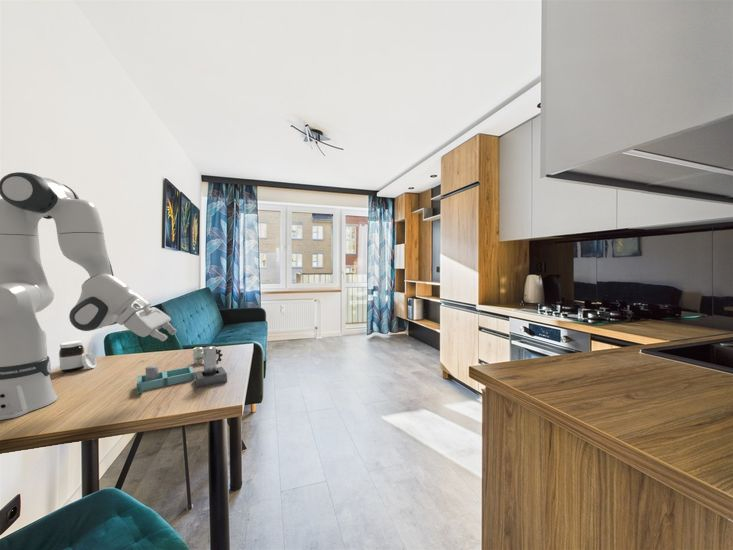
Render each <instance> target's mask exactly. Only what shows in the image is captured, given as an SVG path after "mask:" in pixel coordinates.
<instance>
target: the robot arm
mask: <svg viewBox="0 0 733 550" xmlns="http://www.w3.org/2000/svg"><path fill="white" fill-rule="evenodd" d="M0 197H1V198H0V421H1V420H7V419H14V418H18V417H21V416H23V415H25V414H28V413H30V412H33V411H35V410H36V411H37V410H38V409H42V408H43V407H46V406H48V405H50V404H53V403H54V402H56V401H57V400H58V395H57V393H56V392H55V389H54V387H53V384H52V380H51V372H52V371H51V370H52V367H51V360H50V356H48V349H47V348H48V347H47V334H46V331H45V330H43V329H42V327H41V325H40V323H39V321H38V318H37V316H36V315H37V314H36V313H39V312H42V311H43V310H44V309H46V308H48V307H49V306H50V305H51V304H52V302H53V301H54V298H55V293H54V290H53V289H52V287H51V286H50V285H49V283H48V280H47V276H46V273H45V271H44V268H43V267H44V266H43V264H42V260H41V250H40V239H39V221H40V220H41V219H42V218H43V219H46V220H51V219H53V221H54V223H55V227H56V236H57V242H58V245H59V246H58V247H59V248H60V251H61V253H62V255H63V256H64V257H65V258H67V259H68V261H69V260H70V261H71V262H73V263H75V264H77V265H78V266H80V267H82V268H83V269H84V270H85V271H86V273H87V274H88V276H89V278H88V279H86V280H85V281H84V282H83V283H82V284H81V291H80V296H79V298H78V300H77V302H76V304H75V305H74V306H73V308H71V310H70V312H69V314H68V315H69V316H68V319H69V321H70V323H71V325H72V326H73V327H74V328H75V329H77V330H80V331H82V332H83V331H84V332H90V331H95V330H98V329H102V328H105V327H109V326H114V325H116V324H118V325H120V326H124V327H125V328H126V329H127V330H129V331H130V332H132V333H133V334H135V335H137V336H139V337H142V338H146V337H147V336H149V335H150V336H151V337H152V338H155V339H157V340H160V341H161V342H164V341H166V340H167V339H168V337H169V336H168V335H167V334H165V333H163V332H161V331H159V330H160V329H162V328H163V329H164V330H167V332H168V334H170V335H171V336H173V335H174V336H175V334H176V333H177V331H178V330H177V329H176V328H174V327H173V325H172V324H171V321H172V318H171V316H170V315H168V314H167V313H165V312H164V311H162V310H160V309H159V308H157V307H154V306H153V307H151V305H152V303H151V302H150V301H148V300H147V299H146V298H144V297H143V296H142V295H141V294H139V293H137V292H135V291H133V290H132V289H131V288H130V287H129V285H127V284H126V283H124V282H123V281H122V280H120V279H119V278H118V277H116V276H114V272H113V267H112V264H111V261H110V257H109V255H108V251H107V247H106V240H105V235H104V229H103V224H102V221H101V220H102V219H101V217H100V214H99V211H98V209H97V207H96V206H95V205H94V204H93V203H92V202H90V201H88V200H86V199H81V198H80V197H79V195H78V194H77V193H76V192H75V191H74V190H73V189H72V188H70V187H69V186H68V185H66V184H62V183H60V182H58V181H56V180H54V179H50V178H47V177H42V176H39V175H36V174H33V173H29V172H19V171H18V172H11V173H9V174H6V175H4V176H3V177H2V178H1V179H0Z"/></svg>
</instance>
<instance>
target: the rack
mask: <svg viewBox="0 0 733 550" xmlns="http://www.w3.org/2000/svg"><path fill="white" fill-rule="evenodd" d="M195 372H196V371H195V369H194V367H193V365H192V366H190V365H189V366H185V367H180V368H175V369H174V368H173V369H169V370H164V371H159V366H158V365H150V366H147V367H145V374H144V375H143V374H142V375H138V376H137V379H136V394H137V395H140V394H139V393H141V394H143V391H145V390H151V389H155V388H156V389H157V388H160V387H164V386H166V387H167V386H170V385H175V384H180V383H184V382H188V381H189V382H190V381H195Z"/></svg>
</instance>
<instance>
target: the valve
mask: <svg viewBox="0 0 733 550" xmlns="http://www.w3.org/2000/svg"><path fill="white" fill-rule="evenodd" d="M203 348H204V347H203V346H196V347H194V348H193V349H192V352H193V355H192V358H193V364H194V363H195V364H194V365H198V363H200V364H203V363H204V362H203V361H204V358H203ZM221 352H222V350H221V349H217V348H216V364H217V365H218V364H219V362H222V358H221V357H223V353H221ZM202 362H203V363H202Z"/></svg>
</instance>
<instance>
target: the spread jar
mask: <svg viewBox="0 0 733 550" xmlns="http://www.w3.org/2000/svg"><path fill="white" fill-rule="evenodd" d="M59 348H60V349H59V351H58V357H59V359H58V360H59V369H60V370H59V371H60V373H62V372H63V374H64V373H65V374H66V373H67V372H69V373H73V372H74V371H75V372H77V371H78V370H79V371H82V370H84V369H87V370H92V369H95V367H97V359H96V357H95V355H94V354H93V353H92V352H86V353H85V348H84V346H83V340H70V341H65V342H61V343H60V344H59ZM83 368H84V369H83ZM91 368H92V369H91ZM81 369H82V370H81Z"/></svg>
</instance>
